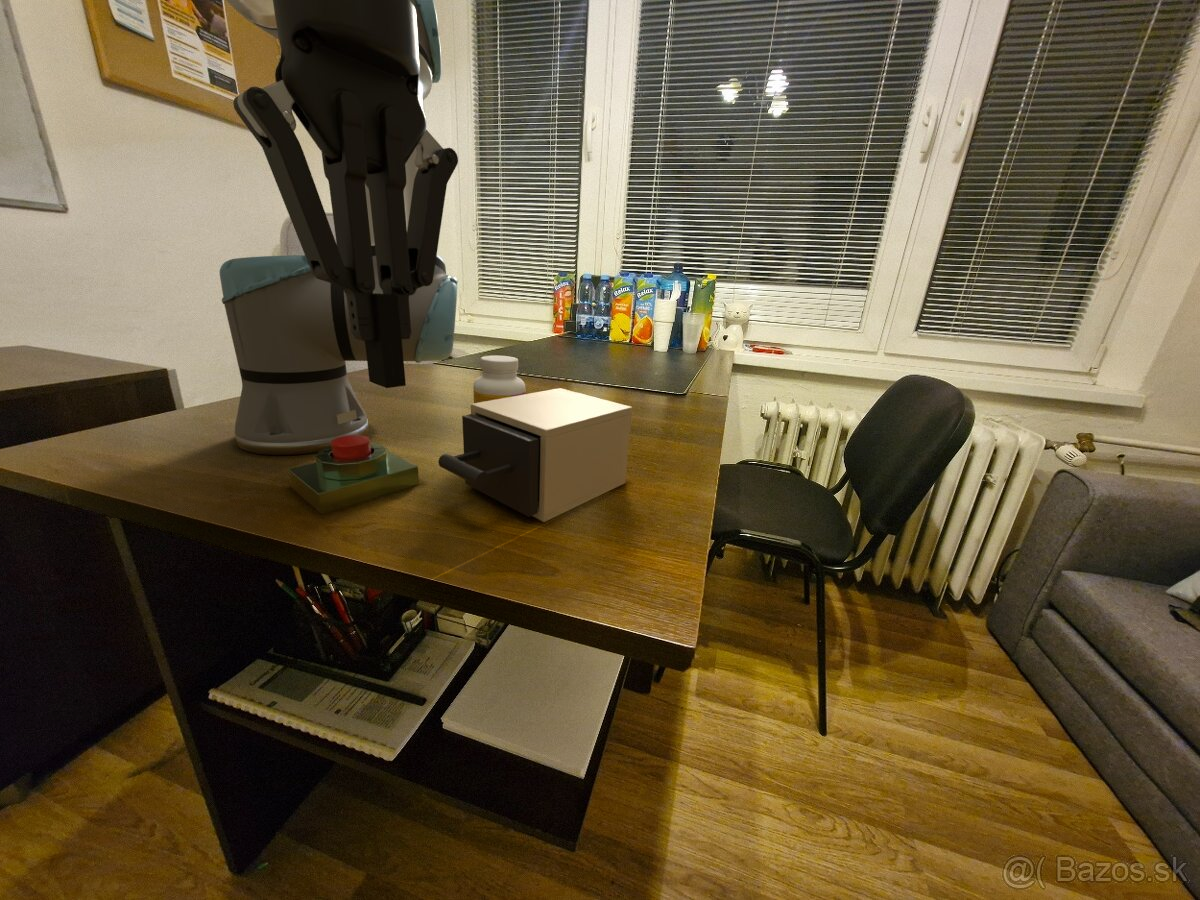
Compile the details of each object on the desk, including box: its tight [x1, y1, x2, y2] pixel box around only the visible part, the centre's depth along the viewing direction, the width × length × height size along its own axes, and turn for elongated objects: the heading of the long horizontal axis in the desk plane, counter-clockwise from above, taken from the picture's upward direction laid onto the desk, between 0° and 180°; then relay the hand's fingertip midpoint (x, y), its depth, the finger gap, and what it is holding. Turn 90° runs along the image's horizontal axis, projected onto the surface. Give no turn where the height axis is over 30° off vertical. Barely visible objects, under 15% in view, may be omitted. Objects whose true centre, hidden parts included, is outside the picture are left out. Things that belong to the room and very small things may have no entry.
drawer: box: [438, 413, 541, 518], centre depth 47 cm, size 17×10×8 cm, turn 141°
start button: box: [331, 435, 372, 460], centre depth 46 cm, size 4×4×2 cm
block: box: [287, 441, 420, 515], centre depth 47 cm, size 8×10×4 cm
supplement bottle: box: [472, 355, 527, 404], centre depth 58 cm, size 7×7×13 cm
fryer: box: [470, 387, 633, 523], centre depth 50 cm, size 14×12×10 cm
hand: (387, 383), depth 34 cm, fingers closed
